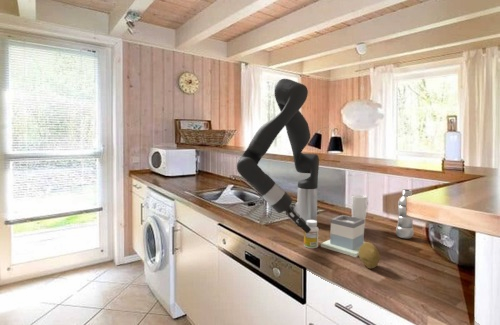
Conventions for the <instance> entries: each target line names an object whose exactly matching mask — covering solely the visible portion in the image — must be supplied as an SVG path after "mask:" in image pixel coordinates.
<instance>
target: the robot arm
mask: <svg viewBox="0 0 500 325" xmlns="http://www.w3.org/2000/svg"><path fill="white" fill-rule="evenodd" d="M308 93H309V89H308V87H307V86H306V85H305V84H302V83H301V82H297V81H295V80H292V79H289V78H282V79H279V81H277V83H276V85H275V87H274V98H275V101H276V104H277V107H278V108H279V110H280V112H279V113H278V114H277V115H276V116H275V117H273V118H271V119H270V120H268V121H267V122H265V123H264V124H263V125H262V126H260V127H259V128H258V130H257V131H256V133H255V134H254V136H253V137H252V139H251V141H250V143H249V144H248V146H247V148H246V149H245V151H244V152H243V153H242V155H241V157H240V158H239V159H238V161H237V163H236V170H237V173H238V174H239V175H240V176H241V177H242V178H243V179H244V180H245V181H247V182H248V183H249V184H250V185H251V186H252V187H253V188H254V189H255V190H256V191H257V193H258V194H260V195H261V196H262V198H263V199H264V201H265V202H267V203H268V204H269V205H270V207H272V209H274V210H275V211H276V212H277V213H278V214H282V213H283V212H284V214H285V216H286V217H287V218H289V219H290V221H292V222H293V223H294V224H295V225H296V226H297V227H298V228H301V230H303V232H304V231H305V232H306V233H308V232H309V231H310V230H311V229H310V227H309V226H308V225H307V224H306V221H307V220H315V221H317V222H318V220H317V218H318V215H317V214H318V186H319V185H318V184H319V181H318V180H319V170H320V158H319V155H318V154H317V153H316V154H315V153H303V150H304V149H305V148H306V146H307V145H308V144H309V142H310V140H311V131H310V127H309V123H308V121H307V120H306V118H305V117H304V115H303V114H302V113H301V111H300V109H301V108H302V106H303V105H304V104H305V103H306V100H307V98H308V96H309V95H308ZM284 128H285V129H286V134H287V137H288V140H289V144H290V147H291V151H292V157H293V164H294V168H295V170H296V172H297V173H299V174H310V175H309V177H307V178H304V179H301V180H299V181H298V182H297V196H296V197H297V200H296V201H297V202H295V203H294V204H295V206H293V205H291V204H292V202H293V197H291V196H290V195H289V194H288V193H287V192H286V191H285V190H284V189H283V188H282V187H281V186H280V185H279V184H278V183H277V182H275V181H274V180H273V178H272V177H270V176H269V174H267V173H266V172H264V171H263V170H262V168H261V167H260V166H259V163H260V161H261V160H262V158H263V157H264V156H265V155H266V153H268V150H269V149H270V148H271V145H272V144H273V143H274V141H275V140H276V138H277V137H278V135H279V134H280V132H282V130H283V129H284Z"/></svg>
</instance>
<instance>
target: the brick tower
mask: <svg viewBox="0 0 500 325" xmlns="http://www.w3.org/2000/svg"><path fill="white" fill-rule="evenodd" d="M364 221H365V222H366V218H365V219H361V218H356V217H352V215H350V216H349V215H346V214H341V215H338V216H336V217H333V218H330V232H329V233H330V234H329V238H330V239H328V240H325V241H324V242H321V243H320V248H323V249H328V250H330V251H334V252H336V253H337V252H338V253H341V254H344V255H347V256H351V257H353V258H357V257H359V250H360V247H361V246H362V245H363V244H364V243H365V242H366V241H365V239H364V236H365V227H364Z"/></svg>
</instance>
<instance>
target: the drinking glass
mask: <svg viewBox="0 0 500 325" xmlns="http://www.w3.org/2000/svg"><path fill="white" fill-rule="evenodd" d="M350 200H351V203H350V204H351V206H350V208H351V217H356V218H361V219H365V221H364V228H365V227H366V218H367V217H366V216H367V210H368V196H367V195H363V194H352V195H351V198H350Z"/></svg>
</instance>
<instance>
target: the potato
mask: <svg viewBox="0 0 500 325" xmlns="http://www.w3.org/2000/svg"><path fill="white" fill-rule="evenodd" d="M364 242H365V243H364V244H363V245H362V246H361V247H360V250H359V256H358V257H359V259H360V261H361V263H363V265H364V266H365V267H366V268H367V269H370V270H371V269H374V268H376V267H377V266H378V264H379V263H380V258H381V255H380V252H379V249H377V247H376V246H375V245H374V243H371V242H370V241H364Z"/></svg>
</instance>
